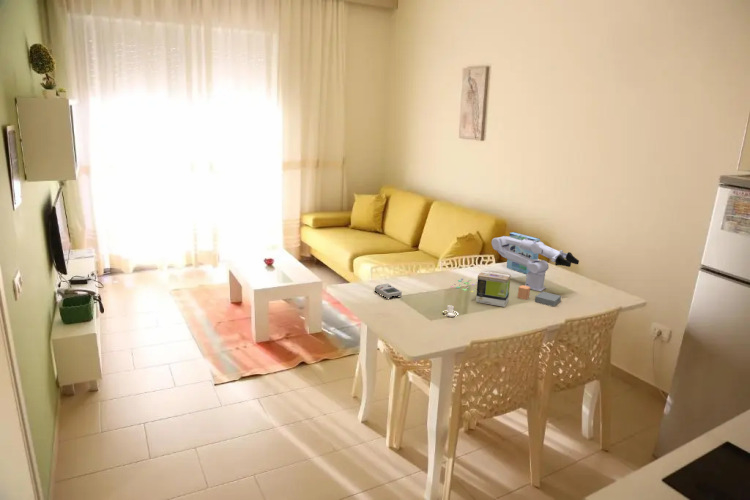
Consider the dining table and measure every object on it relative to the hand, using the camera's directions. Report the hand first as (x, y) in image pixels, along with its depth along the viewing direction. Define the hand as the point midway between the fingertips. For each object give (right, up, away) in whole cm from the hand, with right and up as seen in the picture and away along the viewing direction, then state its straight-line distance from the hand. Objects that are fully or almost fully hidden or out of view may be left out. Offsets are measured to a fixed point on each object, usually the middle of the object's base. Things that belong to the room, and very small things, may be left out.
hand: (574, 263), depth 262 cm
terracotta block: (-25, -18, +6) cm, 31 cm away
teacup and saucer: (-70, -24, -19) cm, 77 cm away
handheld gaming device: (-97, -17, +5) cm, 99 cm away
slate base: (-14, -20, +1) cm, 24 cm away
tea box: (-43, -20, -1) cm, 48 cm away
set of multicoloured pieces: (-53, -14, +22) cm, 59 cm away
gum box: (-13, -6, +50) cm, 52 cm away
